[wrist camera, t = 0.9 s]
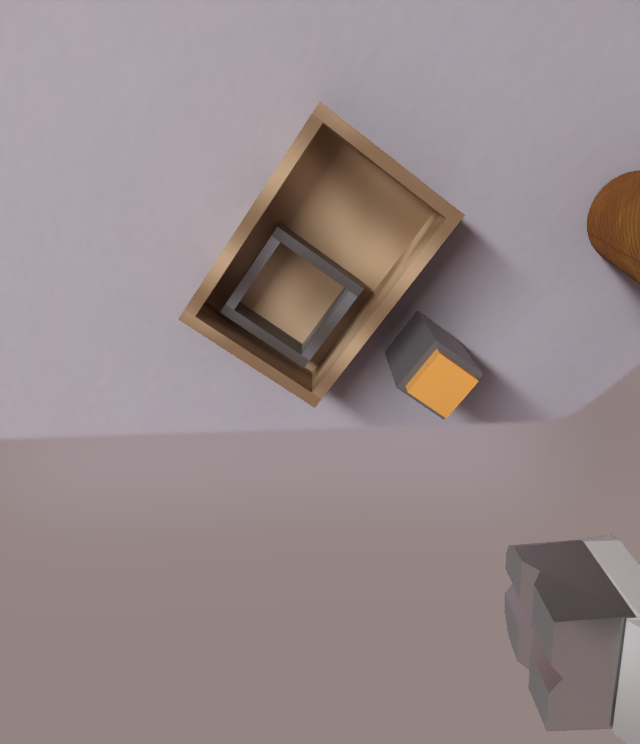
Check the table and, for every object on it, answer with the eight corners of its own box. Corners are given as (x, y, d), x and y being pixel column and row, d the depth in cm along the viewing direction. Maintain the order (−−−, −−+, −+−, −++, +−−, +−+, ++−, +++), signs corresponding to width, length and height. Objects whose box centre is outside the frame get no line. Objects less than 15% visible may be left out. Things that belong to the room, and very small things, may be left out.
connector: (417, 310, 43) (439, 345, 36) (458, 340, 44) (487, 379, 37) (384, 352, 45) (398, 393, 37) (425, 380, 45) (447, 426, 38)
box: (319, 107, 38) (319, 101, 34) (447, 207, 41) (464, 215, 36) (193, 300, 43) (178, 319, 38) (314, 380, 45) (314, 407, 41)
